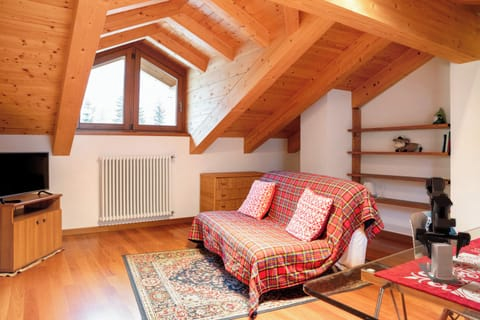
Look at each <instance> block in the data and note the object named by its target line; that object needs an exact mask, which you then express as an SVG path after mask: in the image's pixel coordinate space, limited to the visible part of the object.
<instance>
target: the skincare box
mask: <svg viewBox="0 0 480 320" xmlns="http://www.w3.org/2000/svg"><path fill="white" fill-rule="evenodd" d="M453 252H454V246H453V245H451V244H449V243H448V244H447V243H445V242H444V243H432V259H430V260H431V263H430V264H431V273H432V274H433V273H434V269H437V275H436V276H437V277H449V276H452V275H453V263H454V262H453V261H454V260H453V259H454V253H453Z"/></svg>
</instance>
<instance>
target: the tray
mask: <svg viewBox="0 0 480 320" xmlns="http://www.w3.org/2000/svg"><path fill="white" fill-rule="evenodd" d="M417 266H418V267H419V268H420V269H421V270H422V272H423V271H424V272H425V273H426V274H425V273H424V272H423V273H424V274H425V275H426V276H427V277H428V279H430V281H431V282H432V281H433V283H440V282H441V283H442V284H453V285H454V284H456V285H460V280H459V279H458V274H459V270H456V269H454V275H453V274H452V276H449V277H437V276H436V275H437V269H434V273H433V274H432V273H431V263H430V262H429V261H428V262H427V263H425V262H424V263H421V262H418V265H417Z"/></svg>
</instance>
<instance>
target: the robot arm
mask: <svg viewBox="0 0 480 320" xmlns="http://www.w3.org/2000/svg"><path fill="white" fill-rule="evenodd" d="M424 189H425V190H426V195H427V196H428V197H429V199H428V200H429V201H428V203H429V204H428V205H429V206H430V223H429V224H428V227H427V228H426V227H425V228H424V227H416V228H415V232H414V241H418V243H421V245H422V246H423V247H424V249H425V251H426V253H425V256H426V257H428V259H430V260H432V243H447V244H449V240H451V241H456V244H455V259H458V258H459V254H460V251H461V249H462V248H465V247H466V246H467V247H468V246H469V245H470V244H471V239H472V237H471V236H472V235H471V234H470V233H469V232H466V231H465V232H464V231H457V234H451V232H452V229H451V228H456V226H457V219H456V218H454V217H450V216H449V213H450V209H451V207H452V206H454V202H453V201H452V200H451V198H450V197H449V195H448V194H447V193H445V189H446V180H445V179H444V178H443V177H441V176H431V177H430V178H427V179H426V180H425V182H424ZM449 217H450V218H449Z"/></svg>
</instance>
